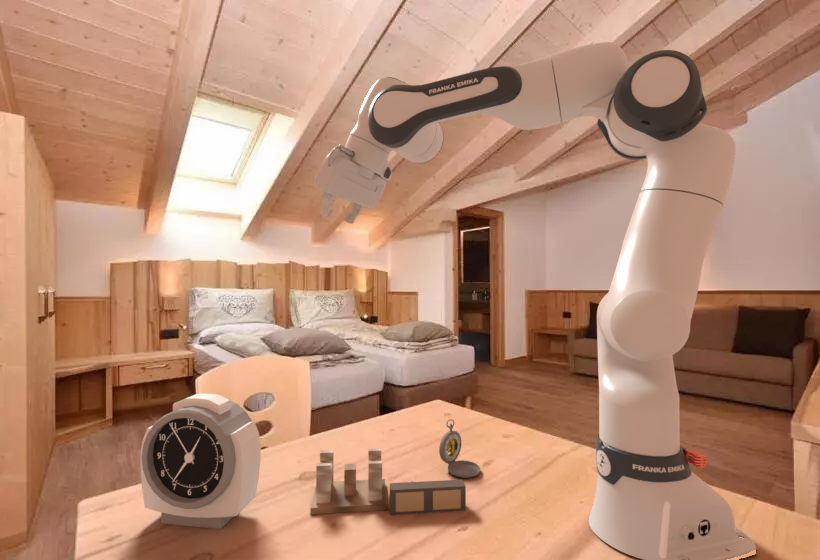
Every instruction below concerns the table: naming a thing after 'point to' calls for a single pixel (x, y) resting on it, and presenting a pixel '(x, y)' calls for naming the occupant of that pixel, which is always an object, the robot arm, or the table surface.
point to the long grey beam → (427, 497)
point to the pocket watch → (456, 455)
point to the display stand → (349, 487)
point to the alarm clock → (200, 462)
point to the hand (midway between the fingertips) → (336, 219)
